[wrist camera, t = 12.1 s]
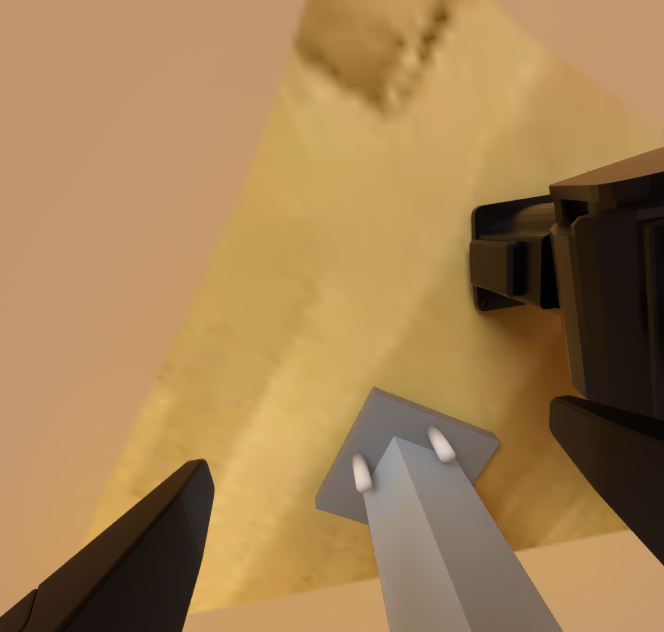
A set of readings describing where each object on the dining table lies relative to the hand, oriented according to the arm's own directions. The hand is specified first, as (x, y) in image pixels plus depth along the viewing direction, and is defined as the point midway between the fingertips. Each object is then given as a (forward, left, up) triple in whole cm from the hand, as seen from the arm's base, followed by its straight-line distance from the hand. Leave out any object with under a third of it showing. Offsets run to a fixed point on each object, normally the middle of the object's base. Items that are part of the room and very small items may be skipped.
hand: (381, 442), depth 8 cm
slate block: (-3, +13, -12) cm, 18 cm away
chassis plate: (-3, +13, -13) cm, 18 cm away
